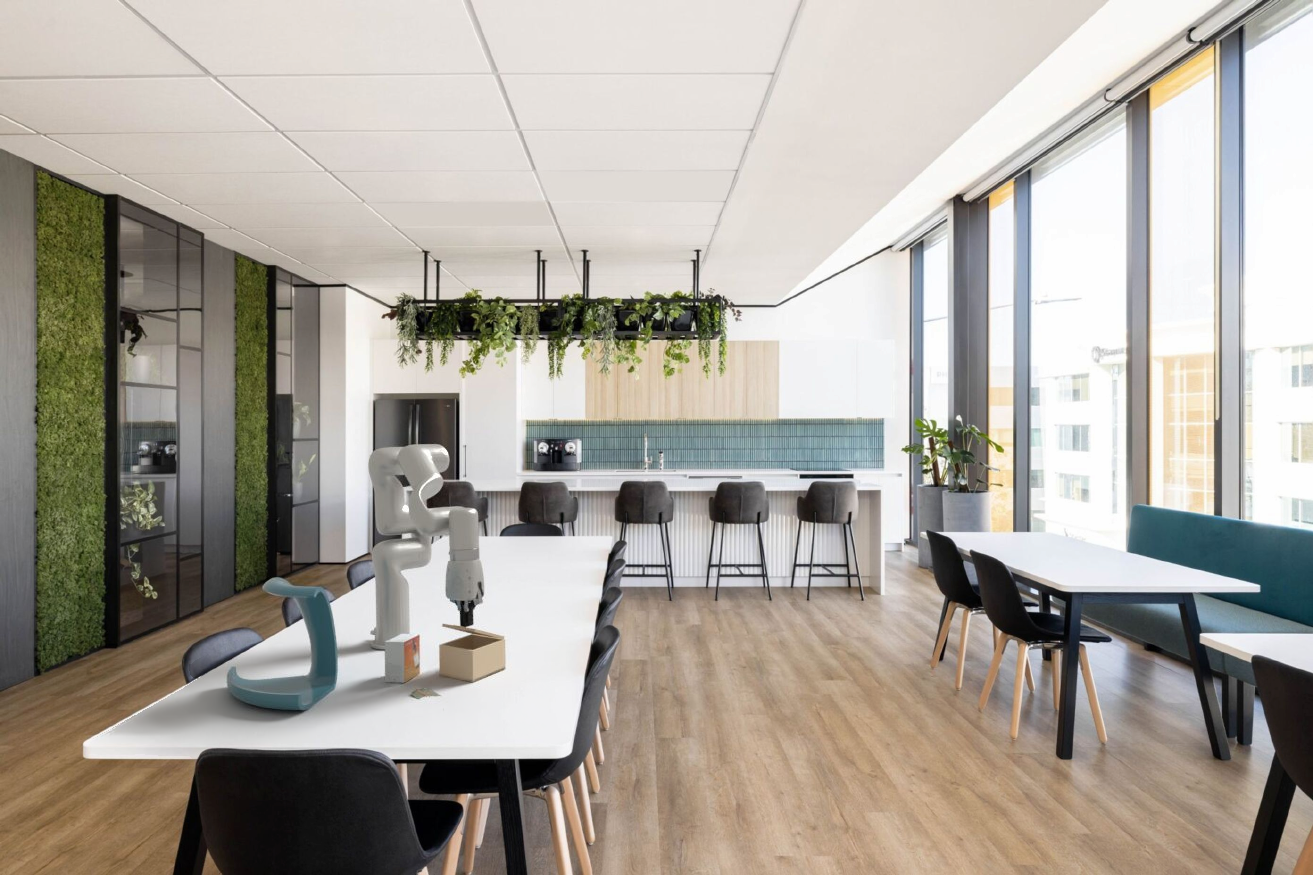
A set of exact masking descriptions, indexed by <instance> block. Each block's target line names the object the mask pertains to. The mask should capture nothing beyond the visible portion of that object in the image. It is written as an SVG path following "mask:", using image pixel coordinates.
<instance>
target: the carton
mask: <svg viewBox="0 0 1313 875" xmlns="http://www.w3.org/2000/svg"><path fill="white" fill-rule="evenodd" d="M438 648H439V651H438V653H439V676H440V677H441V676H442V677H444V678H445V677H446V678H449V679H455V680H459V681H464V682H469V683H476V682H478V681H481V680H483V679H486V678H488V677H490V676H492V675H495V674H497V673H500V672H503V671H505V670H506V639H505V638H504V639H499V638H493V637H488V636H482V635H476V634H471V633H470V634H468V635H465V636H462V637H459V638H456V639H454V640H449V641H447V642H444V643H441V644H439V646H438Z"/></svg>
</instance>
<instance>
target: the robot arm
mask: <svg viewBox="0 0 1313 875" xmlns="http://www.w3.org/2000/svg"><path fill="white" fill-rule="evenodd" d="M367 463H368V464H367V465H368V466H367V468H368V473H369V478H370V480H371V484H372V487H373V490H374V513H375V514H374V516H375V526H376V529H377V532H378V533H379V534H380V535H382V536H397V535H406V534H409V535H410V537H405V538H394V539H387V540H382V541H380V542H378V543H377V544H375V545H374V547H373V548H372V550H371V561H372V562H371V563H372V565H373V572H374V579H375V580H374V581H375V620H376V621H375V627H374V628H373V629H371V631H370V635H372V636H374V639H373V640H372V641H371V642H370V647H371V648H373V649H375V650H385V641H388V640H390V639H392V638H394V637H396V636H398V635H400V634H411V633H410V587H409V586H410V585H409V582H408V580H407V579H406V577H405V576H404V575H403V573H402V572H401V571H406V570H411V569H417V568H418V569H419V568H420V569H421V568H423V567H426V566H428V565H429V563H431V562H430V561H431V559H432V537H439V536H440V537H441V536H447V535H448V536H449V537H448V538H449V539H448V540H449V550H448V555H449V560H448V561H447V564H446V571H445V572H446V573H445V597H446V598H447V599H448V600H449V602H450V603H453V604H455V606H456V607H457V611H458V612H459V626H463V627H466V628H469V627H472V626H474V624H475V623H474V610H475V609H476V606H478V605H481V604H483V603H484V601H483V597H484V595H485V580H484V579H485V577H484V570H483V565H482V560H481V559H480V537H479V536H480V534H479V512H478V511H477V509H476V508H475V507H464V506H462V505H461V506H459V505H458V506H457V505H455V506H441V507H431V508H430V507H429V508H428V507H427V506H426V505H425V501H427V500H428V499H431V498H432V497H434V496H435V495H436V494H438V493H439V492H440V491H441V489H442V487H443V485H444V478H443V476H442V475H441V473H443V472H446V471H447V469H449V466H450V455H449V452H448V450H447V449H446V448H445V447H444V446H443V445H441V444H437V443H433V444H431V443H427V444H426V443H425V444H421V443H419V444H409V445H406V446H390V447H389V446H388V447H380V448H378V449H375V450H374V451H372V452H371V453H370V455H369V458H368V462H367ZM396 476H405V478H406V480H407V482H408V483H409V485H410V487H411V489H412V491H411V493H410V496H409V498H408V502H405V501H406V500H405V488H404V486H403V485H402V483H401V481H400V480H399V479H398V478H397V477H396Z"/></svg>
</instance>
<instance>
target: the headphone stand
mask: <svg viewBox="0 0 1313 875" xmlns="http://www.w3.org/2000/svg"><path fill="white" fill-rule="evenodd" d="M261 588H262V590H263V591H264V592H266V593H268V594H271V595H274V596H277V597H284V598H292V599H293V601H294V602H295V604H296V606H297V607H298V609H299V611H300V614H301V616H302V619H303V622H304V625H305V627H306V630H307V631H306V632H307V635H308V639H309V642H310V643H309V645H310V656H311V658H310V659H311V661H310V663H311V664H310V670H309V672H308V673H307V674H306V675H297V676H296V675H295V676H284V677H274V678H262V679H249V678H243V677H240V676H239V675H238V674H237V666H231V667H230V668H229V669H228V671H227V673H226V686H227V690H228V691H229V693H230V694H231V695H232V696H233V697H235V698H236V699H237V700H239V701H241V702H243V703H246V704H248V705H252V706H255V707H260V708H265V709H269V710H270V709H272V710H284V711H307V710H309V709H311V708H313V706H316V705H317V704H318V703H319V702H320V701H321V700H323V699H324V698H325V697H326V696H328V695H329V694H330V693H332V692H333V691H334V690H335V688H336V687H337V686H336V685H337V682H338V670H339V669H338V668H339V666H338V665H339V664H338V662H339V659H338V658H339V656H338V644H337V643H338V642H337V635H336V628H335V626H336V625H335V621H334V615H333V610H332V606H331V603H330V599H329V596H328V594H327V591H326V589H324V587H322V586H302V585H301V586H299V585H298V586H297V585H293V584H292V583H290V582H289V581H288V580H287V579H285V578H282V577H279V576H278V577H277V576H276V577H272V578H270V579H269V580H267V581H265V583H264V584H263V585H262V587H261Z"/></svg>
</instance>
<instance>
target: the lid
mask: <svg viewBox="0 0 1313 875" xmlns="http://www.w3.org/2000/svg"><path fill="white" fill-rule="evenodd" d="M441 627H443V628H447V629H450V630H455V631H460V632H463V633H467V634H470V635H471V634H476V635H482V636H488V637H493V638H499V639H505V636H504V635H500V634H495V633H491V632H488V631H485V630H480V629H477V628H471V627H463V626H460V625H456V624H447V623H442V624H441Z"/></svg>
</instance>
